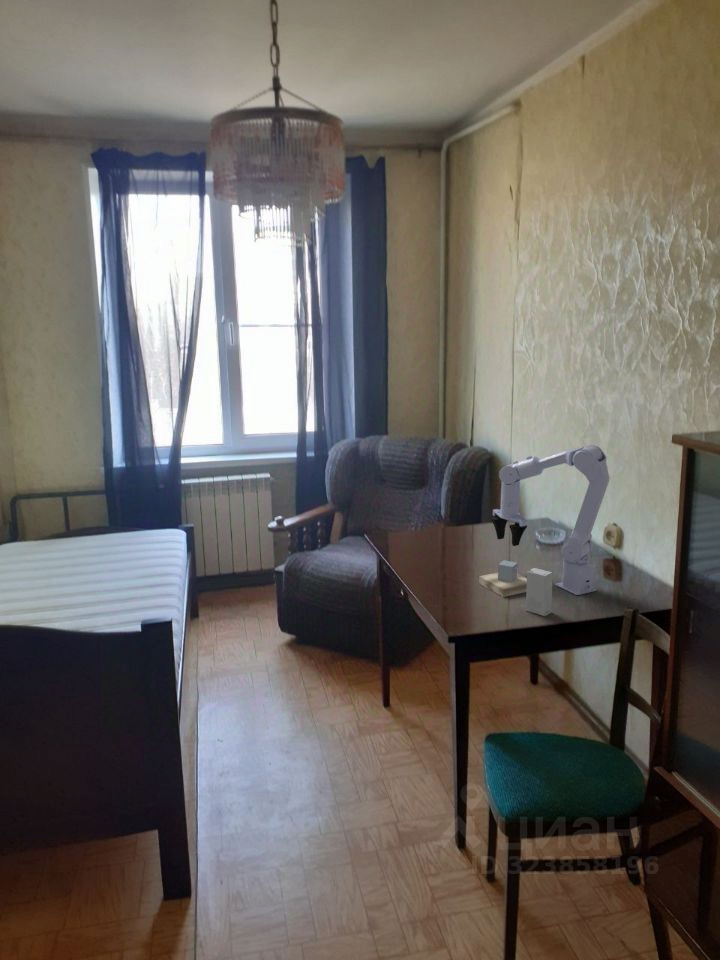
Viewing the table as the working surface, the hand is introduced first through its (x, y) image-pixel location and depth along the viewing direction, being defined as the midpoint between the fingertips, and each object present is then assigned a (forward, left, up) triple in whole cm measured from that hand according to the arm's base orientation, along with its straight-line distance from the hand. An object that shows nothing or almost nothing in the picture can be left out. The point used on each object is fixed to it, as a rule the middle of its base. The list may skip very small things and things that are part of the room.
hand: (507, 542), depth 225 cm
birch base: (-10, +8, -10) cm, 16 cm away
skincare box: (-29, +12, -11) cm, 33 cm away
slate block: (-10, +8, -8) cm, 15 cm away
